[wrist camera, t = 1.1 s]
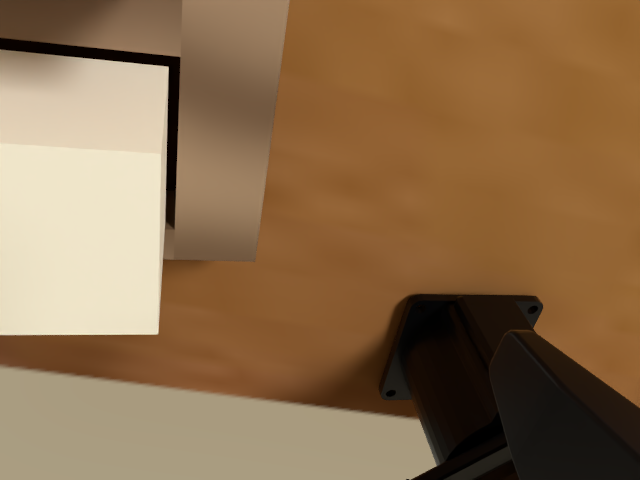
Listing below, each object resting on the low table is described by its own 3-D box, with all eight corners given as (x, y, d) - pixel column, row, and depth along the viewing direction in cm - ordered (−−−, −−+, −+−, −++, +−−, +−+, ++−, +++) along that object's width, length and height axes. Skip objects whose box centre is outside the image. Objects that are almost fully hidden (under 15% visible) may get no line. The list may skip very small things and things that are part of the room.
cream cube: (164, 221, 18) (158, 334, 15) (-10, 214, 17) (-70, 335, 13) (168, 66, 16) (161, 154, 12) (-41, 45, 14) (-128, 134, 11)
